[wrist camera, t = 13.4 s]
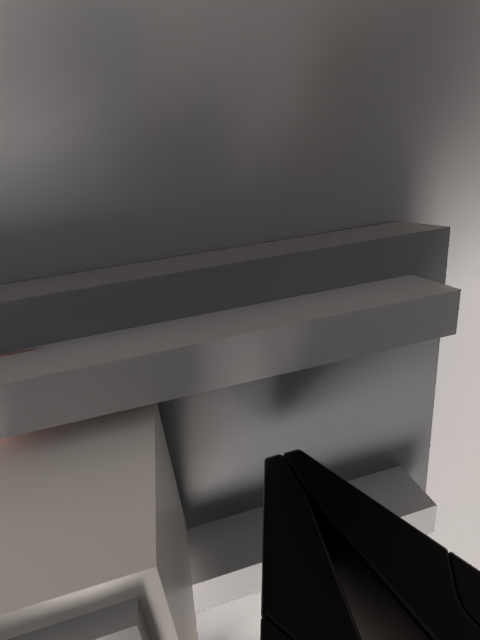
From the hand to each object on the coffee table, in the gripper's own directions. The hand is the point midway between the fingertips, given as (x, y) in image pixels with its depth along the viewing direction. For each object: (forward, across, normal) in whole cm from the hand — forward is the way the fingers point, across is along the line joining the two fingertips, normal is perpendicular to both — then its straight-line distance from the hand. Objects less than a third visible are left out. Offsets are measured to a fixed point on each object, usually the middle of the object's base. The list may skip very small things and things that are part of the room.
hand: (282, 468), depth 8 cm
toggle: (+1, +4, 0) cm, 4 cm away
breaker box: (+3, +1, 0) cm, 4 cm away
